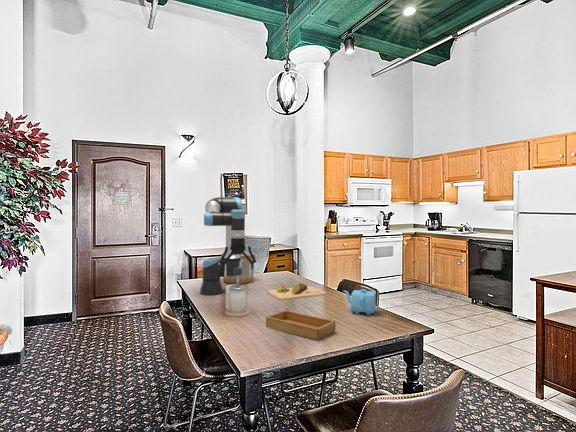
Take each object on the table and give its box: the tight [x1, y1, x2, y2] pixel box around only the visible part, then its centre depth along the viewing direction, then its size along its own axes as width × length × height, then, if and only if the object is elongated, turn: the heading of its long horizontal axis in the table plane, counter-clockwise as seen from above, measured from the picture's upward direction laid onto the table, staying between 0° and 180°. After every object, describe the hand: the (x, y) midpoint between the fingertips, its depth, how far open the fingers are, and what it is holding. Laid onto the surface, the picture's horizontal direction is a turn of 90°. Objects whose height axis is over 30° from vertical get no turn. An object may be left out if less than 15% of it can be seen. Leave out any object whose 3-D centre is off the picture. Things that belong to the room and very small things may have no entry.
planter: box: [220, 251, 256, 285], centre depth 285 cm, size 26×26×22 cm
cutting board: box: [266, 282, 328, 301], centre depth 248 cm, size 35×23×8 cm
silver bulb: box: [230, 268, 246, 290], centre depth 202 cm, size 8×8×11 cm
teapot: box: [343, 288, 377, 316], centre depth 206 cm, size 18×16×13 cm
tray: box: [265, 309, 336, 341], centre depth 177 cm, size 31×15×6 cm, turn 51°
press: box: [224, 287, 251, 317], centre depth 203 cm, size 14×14×13 cm
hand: (237, 275), depth 203 cm, fingers open, 13 cm apart
